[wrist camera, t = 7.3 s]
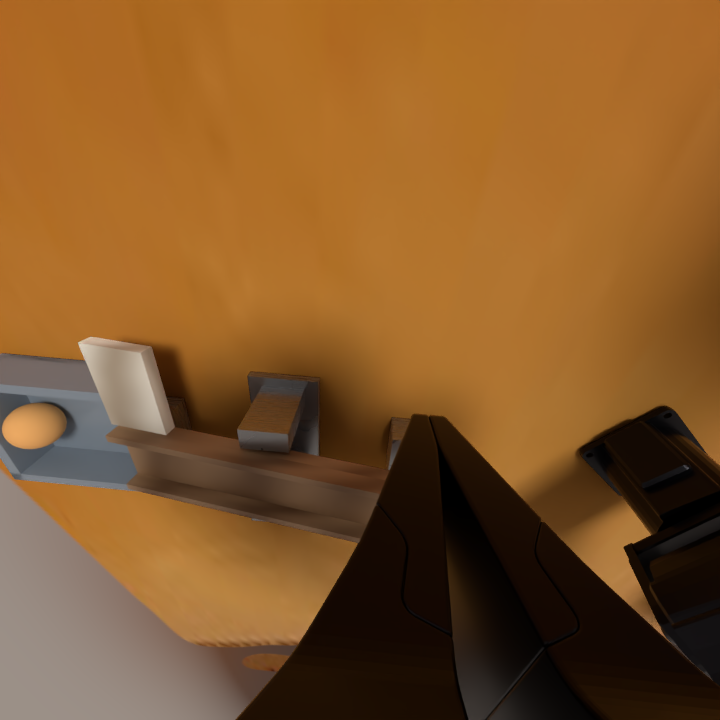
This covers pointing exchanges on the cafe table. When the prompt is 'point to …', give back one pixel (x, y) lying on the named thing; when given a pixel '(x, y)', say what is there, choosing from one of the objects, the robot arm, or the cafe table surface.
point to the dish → (83, 430)
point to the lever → (223, 456)
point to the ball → (34, 425)
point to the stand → (284, 416)
